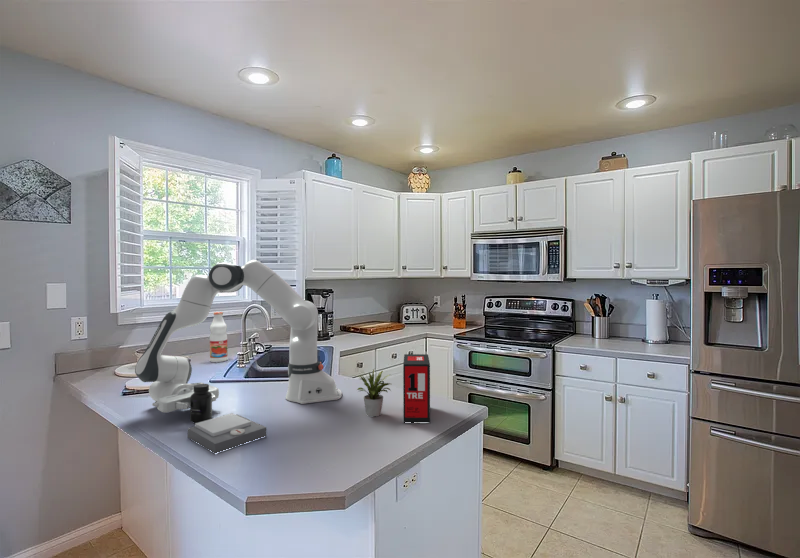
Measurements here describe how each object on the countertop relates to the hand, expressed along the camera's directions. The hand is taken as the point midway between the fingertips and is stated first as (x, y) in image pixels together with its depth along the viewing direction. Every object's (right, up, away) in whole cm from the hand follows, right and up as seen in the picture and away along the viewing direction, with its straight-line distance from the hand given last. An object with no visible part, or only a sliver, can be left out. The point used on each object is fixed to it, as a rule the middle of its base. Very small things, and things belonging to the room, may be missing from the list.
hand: (201, 402), depth 142 cm
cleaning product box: (+75, -6, +4) cm, 75 cm away
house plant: (+58, -6, +4) cm, 59 cm away
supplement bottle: (0, -6, 0) cm, 6 cm away
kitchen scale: (+15, -6, -15) cm, 22 cm away
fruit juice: (-36, -5, +95) cm, 101 cm away
